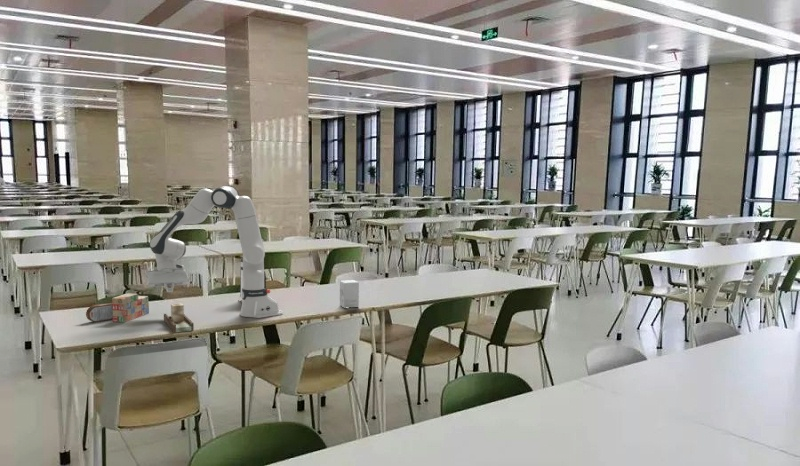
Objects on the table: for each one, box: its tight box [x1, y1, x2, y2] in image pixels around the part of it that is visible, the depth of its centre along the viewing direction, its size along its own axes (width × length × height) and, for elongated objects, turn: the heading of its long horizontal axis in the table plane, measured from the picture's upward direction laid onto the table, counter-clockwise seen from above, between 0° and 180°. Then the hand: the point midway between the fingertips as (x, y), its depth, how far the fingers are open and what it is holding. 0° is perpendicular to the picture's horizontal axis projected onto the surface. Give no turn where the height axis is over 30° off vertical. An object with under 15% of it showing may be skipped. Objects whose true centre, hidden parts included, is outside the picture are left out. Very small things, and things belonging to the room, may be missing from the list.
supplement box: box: [339, 279, 360, 309], centre depth 346 cm, size 9×9×15 cm
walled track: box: [163, 313, 195, 333], centre depth 294 cm, size 9×26×4 cm, turn 31°
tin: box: [85, 302, 113, 323], centre depth 300 cm, size 15×3×8 cm, turn 141°
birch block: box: [170, 302, 185, 322], centre depth 295 cm, size 5×5×8 cm
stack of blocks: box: [111, 292, 150, 323], centre depth 308 cm, size 21×6×12 cm, turn 169°
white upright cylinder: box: [237, 256, 267, 302], centre depth 352 cm, size 17×16×30 cm
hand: (170, 291), depth 309 cm, fingers closed
